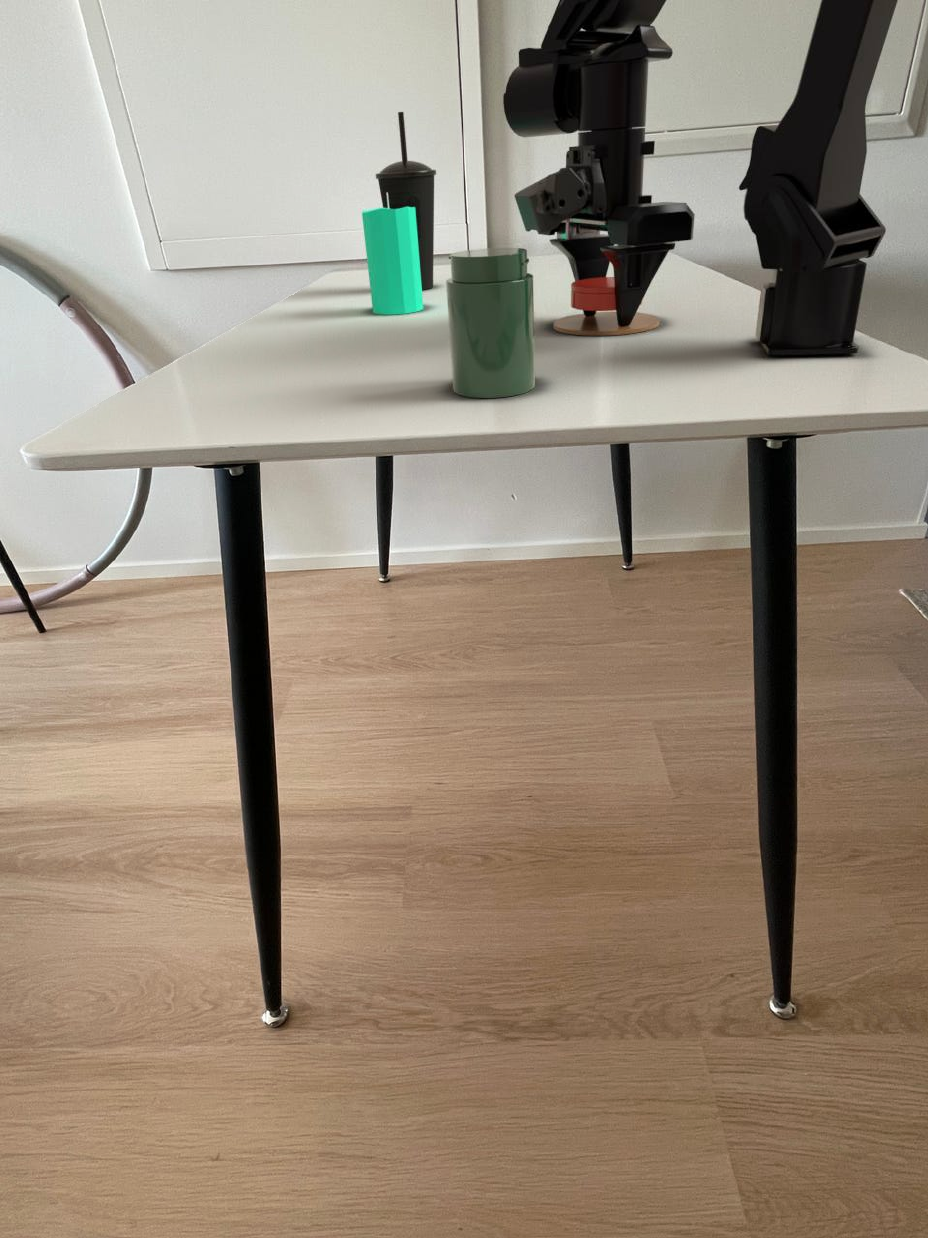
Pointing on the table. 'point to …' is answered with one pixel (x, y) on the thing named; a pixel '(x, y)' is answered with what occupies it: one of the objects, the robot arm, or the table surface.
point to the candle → (393, 260)
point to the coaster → (604, 324)
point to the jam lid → (594, 294)
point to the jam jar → (491, 322)
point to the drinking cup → (412, 200)
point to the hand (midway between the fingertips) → (606, 320)
